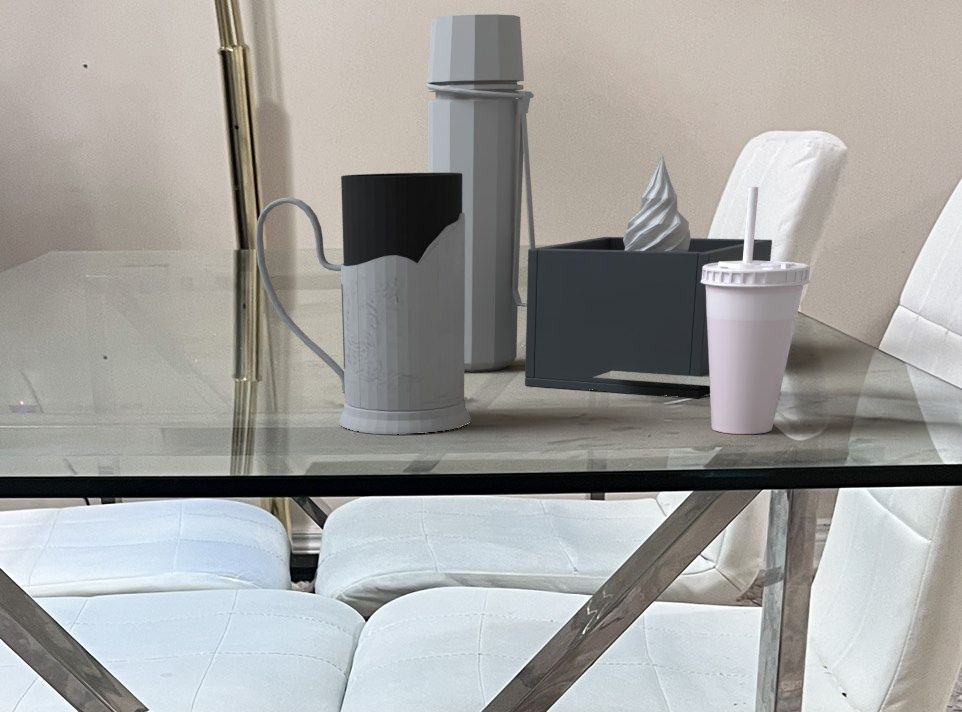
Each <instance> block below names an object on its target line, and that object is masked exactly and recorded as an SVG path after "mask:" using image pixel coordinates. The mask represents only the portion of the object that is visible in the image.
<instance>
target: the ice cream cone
mask: <svg viewBox="0 0 962 712" xmlns="http://www.w3.org/2000/svg"><path fill="white" fill-rule="evenodd" d="M664 158H665V157H664V154H661V155H660V157H659V160H658V163H657V165H656V168H655V170H654V172H653V174H652V177H651V179H650V181H649V183H648V185H647V187H646V189H645V191H643V194H642V196H641V202H640V206H639V212H638V213H637V214H635V215H634V216H633V217H632V218H631V219H630V220H629V221H628V222H627V227H626V228H627V229H626V231H625V232H624V234H623V237H624V238H623V242H624V245H625V250H630V251H676V252H688V249H689V244H690V240H691V238H692V237H691V231H690V222H689V220H688V219H686V217H684V215H683V214H682V213H681V212H680V211H679V209H678V195H677V193H676V191H675V189H674V186H673V184H672V182H671V178H670V175H669V172H668V169H667V166H666V162H665V159H664Z"/></svg>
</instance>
